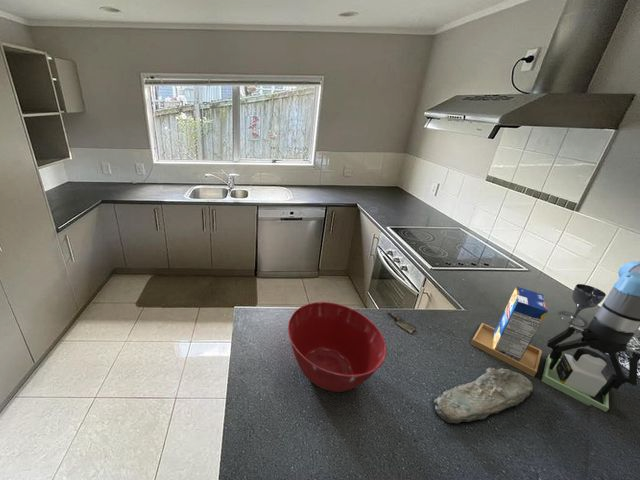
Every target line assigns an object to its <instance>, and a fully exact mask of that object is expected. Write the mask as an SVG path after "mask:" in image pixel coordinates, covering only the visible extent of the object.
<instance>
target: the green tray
mask: <svg viewBox="0 0 640 480" xmlns="http://www.w3.org/2000/svg"><path fill="white" fill-rule="evenodd" d="M546 357H547V358H546V360H545V362H544V363H545V364H544V368H543V373H542V377H541V383H544V384H546V385H547V386H550V387H551V388H554V389H555V390H557V391H559V392H562V393H563V394H565V395H567V396H569V397H570V398H572V399H575V400H576V401H578V402H579V403H582V404H584V405H586V406H588V407H591V406H594V407H595V408H598V409H600V410H601V411H603V412H605V413H607V412H608V410H609V409H610V394H609V393H610V391H609V392H608V393H607V395H606V396H604V395H602V403H601V402H599V401H598V400H595V399H593V398H592V396H590V395H587V394H584V393H582V392H579V391H576V390H574V389H572V388H570V387H568V386H566V385H564V384H562V383H561V381H560V379H559V377H558V375H557V372H556V370H555V368H556V366H557V365H558V363H559V362H560V360H561V359H562V358H559V360H558V362H557V363H556V365H555V366H554V368H553V369H552V370H551V369H549V367H550V363H551V361H552V360H553V359H551V358H550V353H549V355H548V356H546ZM607 381H608V380H606V382H607ZM606 382H605V383H606ZM604 385H605V384H604ZM604 385H603V386H604ZM603 386H602V387H603Z"/></svg>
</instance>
